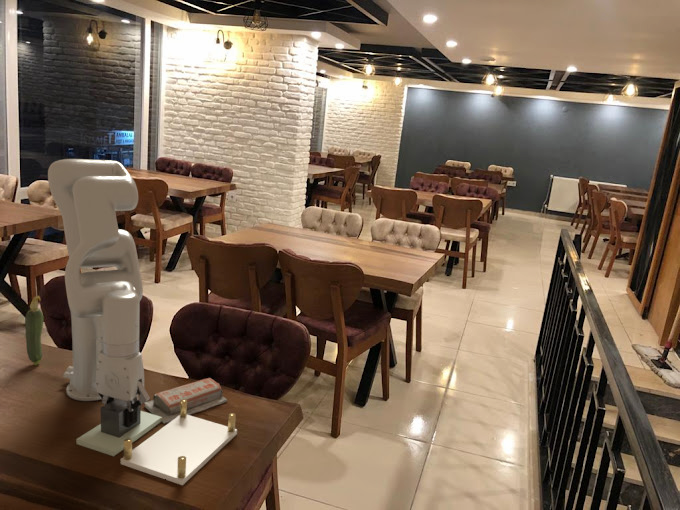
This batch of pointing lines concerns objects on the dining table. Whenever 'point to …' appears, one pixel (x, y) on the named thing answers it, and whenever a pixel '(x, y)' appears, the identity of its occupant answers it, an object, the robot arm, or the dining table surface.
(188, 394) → the packaged product
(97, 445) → the board
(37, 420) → the dining table surface
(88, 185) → the robot arm
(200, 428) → the chassis
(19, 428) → the dining table surface
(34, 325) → the vegetable
